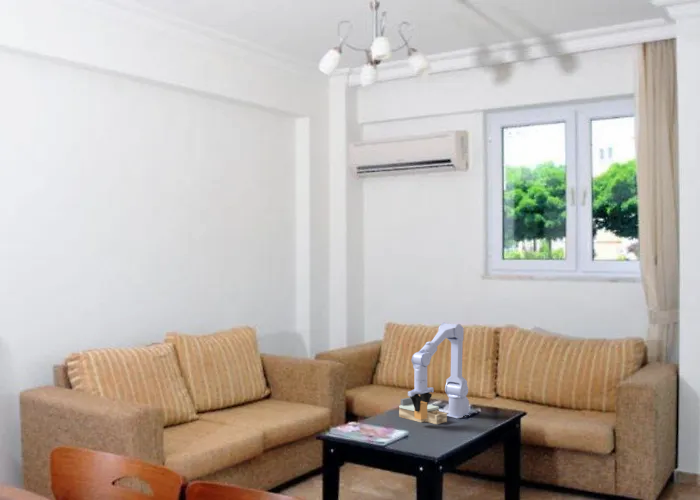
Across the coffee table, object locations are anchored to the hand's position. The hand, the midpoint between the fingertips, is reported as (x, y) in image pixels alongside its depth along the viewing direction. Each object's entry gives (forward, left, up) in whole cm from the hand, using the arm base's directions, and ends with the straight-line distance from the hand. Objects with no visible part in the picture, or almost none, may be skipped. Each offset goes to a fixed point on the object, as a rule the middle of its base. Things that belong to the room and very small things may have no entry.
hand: (420, 410), depth 324 cm
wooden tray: (-11, -8, -7) cm, 15 cm away
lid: (-11, -12, -3) cm, 16 cm away
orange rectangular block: (0, 0, -3) cm, 3 cm away
